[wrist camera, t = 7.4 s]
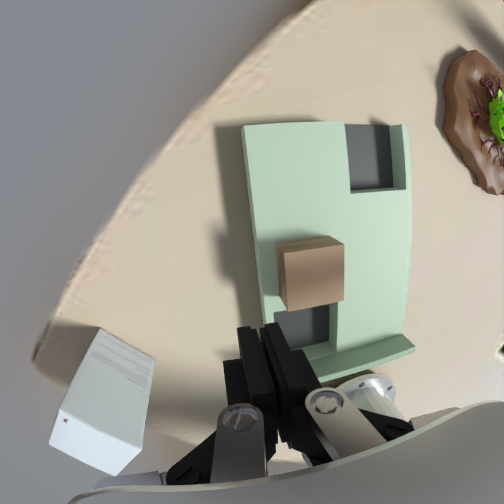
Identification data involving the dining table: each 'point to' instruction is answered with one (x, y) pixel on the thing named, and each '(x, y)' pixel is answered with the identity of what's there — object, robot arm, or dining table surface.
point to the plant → (477, 117)
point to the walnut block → (310, 272)
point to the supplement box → (105, 405)
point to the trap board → (335, 234)
